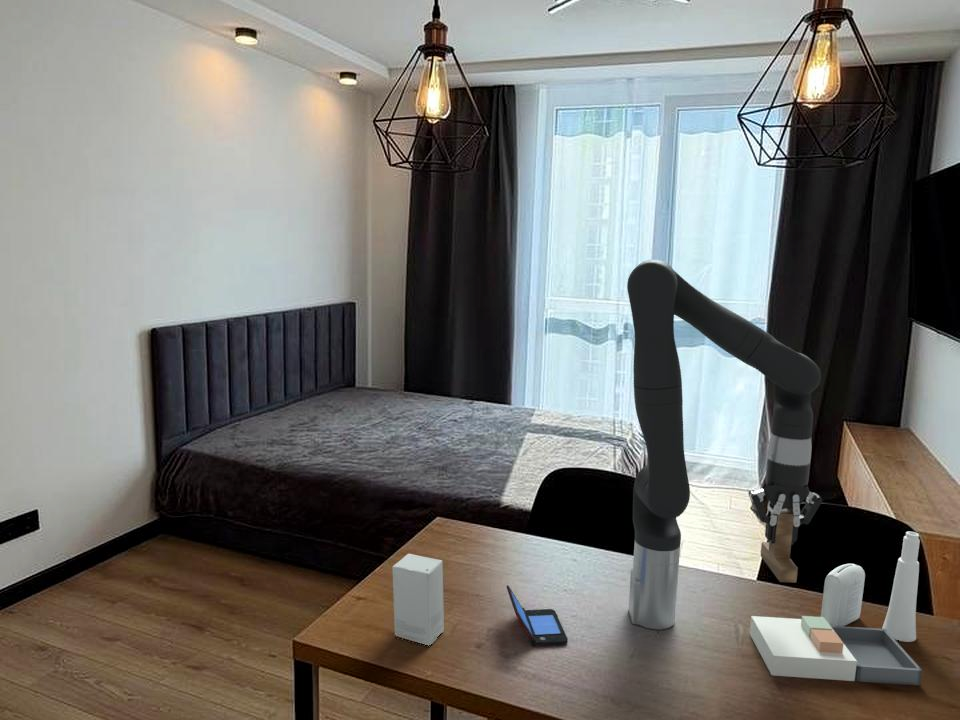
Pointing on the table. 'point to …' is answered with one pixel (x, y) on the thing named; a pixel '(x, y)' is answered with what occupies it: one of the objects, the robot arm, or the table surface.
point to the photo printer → (843, 595)
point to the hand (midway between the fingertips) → (780, 541)
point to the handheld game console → (539, 624)
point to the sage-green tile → (814, 624)
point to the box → (879, 656)
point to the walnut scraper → (781, 549)
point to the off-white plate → (797, 651)
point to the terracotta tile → (826, 641)
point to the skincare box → (418, 598)
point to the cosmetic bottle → (904, 592)
